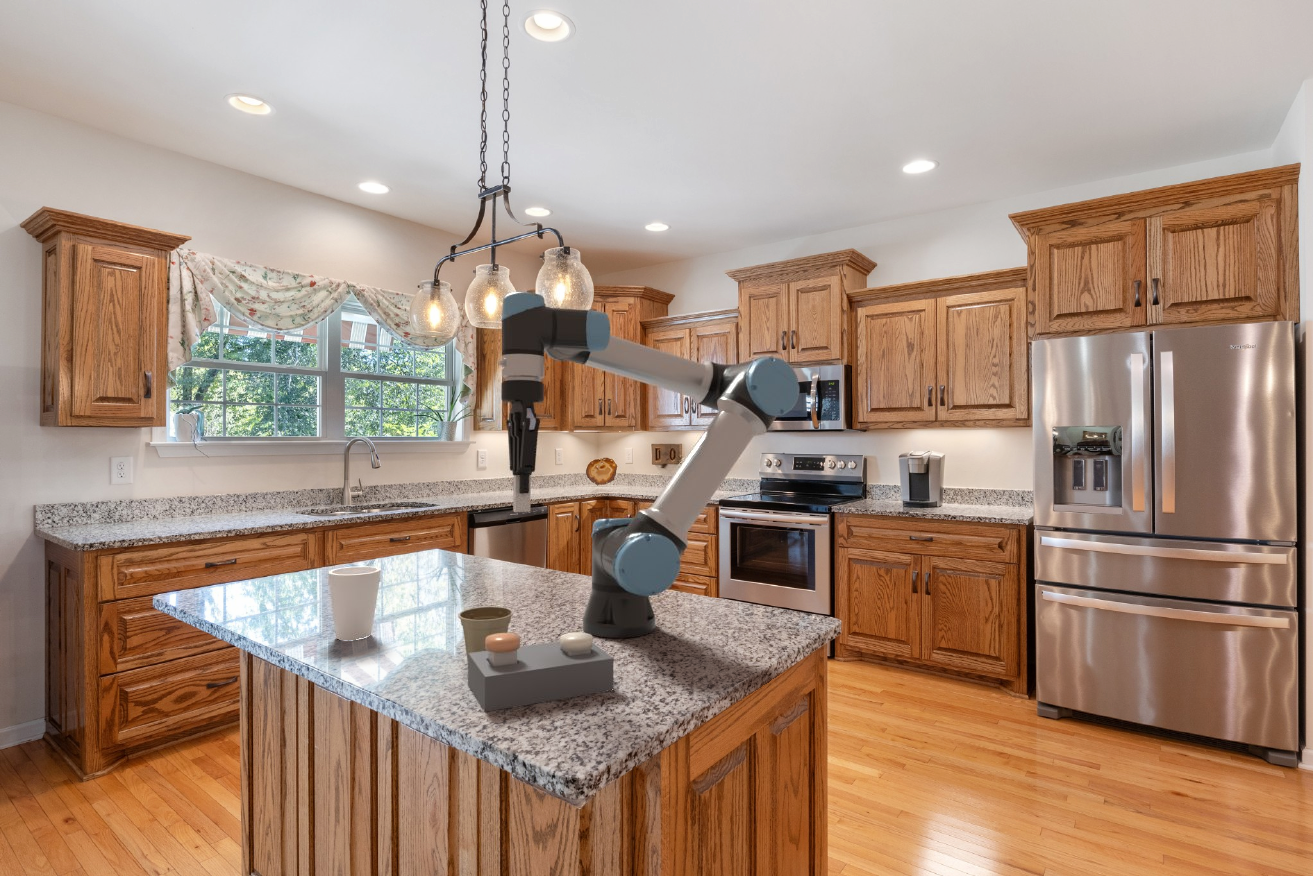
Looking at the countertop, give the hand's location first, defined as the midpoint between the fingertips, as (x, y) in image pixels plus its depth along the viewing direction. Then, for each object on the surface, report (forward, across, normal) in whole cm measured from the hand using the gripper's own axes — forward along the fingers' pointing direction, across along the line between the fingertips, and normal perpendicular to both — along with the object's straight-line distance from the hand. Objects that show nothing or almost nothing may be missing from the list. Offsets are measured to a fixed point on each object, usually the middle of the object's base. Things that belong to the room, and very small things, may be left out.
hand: (521, 511), depth 121 cm
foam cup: (+26, -27, -26) cm, 46 cm away
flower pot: (+27, 0, -6) cm, 27 cm away
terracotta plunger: (+25, +16, -7) cm, 30 cm away
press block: (+26, +16, -1) cm, 31 cm away
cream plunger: (+26, +16, +5) cm, 31 cm away
